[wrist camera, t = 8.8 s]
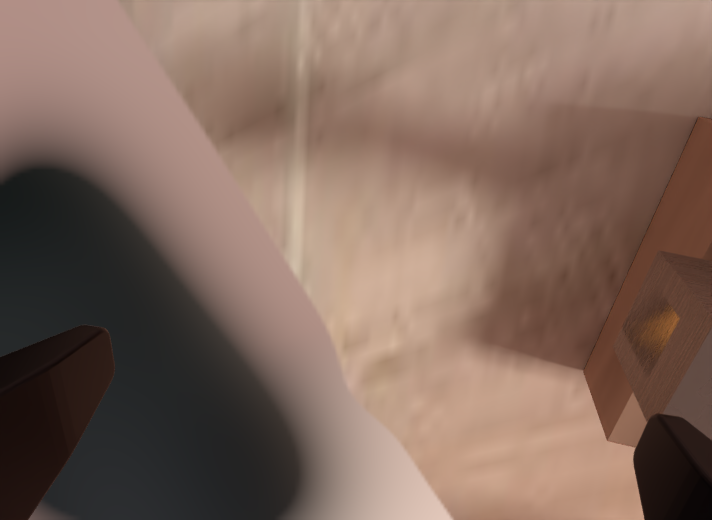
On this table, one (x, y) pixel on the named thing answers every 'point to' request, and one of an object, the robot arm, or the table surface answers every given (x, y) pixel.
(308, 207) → the table surface
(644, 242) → the hitch block
